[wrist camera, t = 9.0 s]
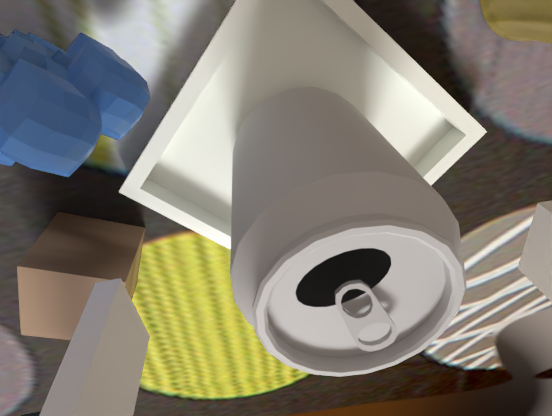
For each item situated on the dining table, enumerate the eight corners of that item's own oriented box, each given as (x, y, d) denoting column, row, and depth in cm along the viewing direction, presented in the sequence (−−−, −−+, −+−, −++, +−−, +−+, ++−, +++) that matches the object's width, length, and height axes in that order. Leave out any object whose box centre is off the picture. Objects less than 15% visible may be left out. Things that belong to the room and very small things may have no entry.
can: (332, 53, 18) (457, 146, 8) (384, 170, 22) (515, 336, 12) (205, 129, 19) (171, 292, 9) (274, 227, 23) (305, 420, 13)
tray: (127, 174, 21) (118, 192, 19) (275, -65, 16) (280, -71, 14) (311, 274, 26) (317, 294, 25) (466, 119, 21) (487, 131, 19)
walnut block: (58, 273, 24) (21, 334, 20) (59, 211, 22) (17, 266, 18) (136, 284, 25) (117, 345, 21) (145, 227, 23) (125, 282, 19)
